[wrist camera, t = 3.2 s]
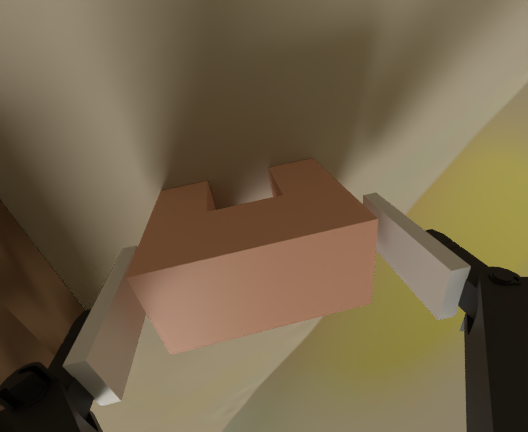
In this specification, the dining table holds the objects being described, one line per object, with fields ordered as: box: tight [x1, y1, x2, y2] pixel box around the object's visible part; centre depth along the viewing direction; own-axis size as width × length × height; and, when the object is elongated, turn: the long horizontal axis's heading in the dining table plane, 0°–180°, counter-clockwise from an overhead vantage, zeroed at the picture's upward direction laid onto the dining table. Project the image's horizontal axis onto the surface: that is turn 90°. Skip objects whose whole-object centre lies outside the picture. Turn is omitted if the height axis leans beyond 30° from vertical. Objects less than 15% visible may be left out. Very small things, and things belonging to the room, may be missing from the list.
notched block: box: [126, 158, 378, 355], centre depth 15 cm, size 10×5×8 cm, turn 99°
